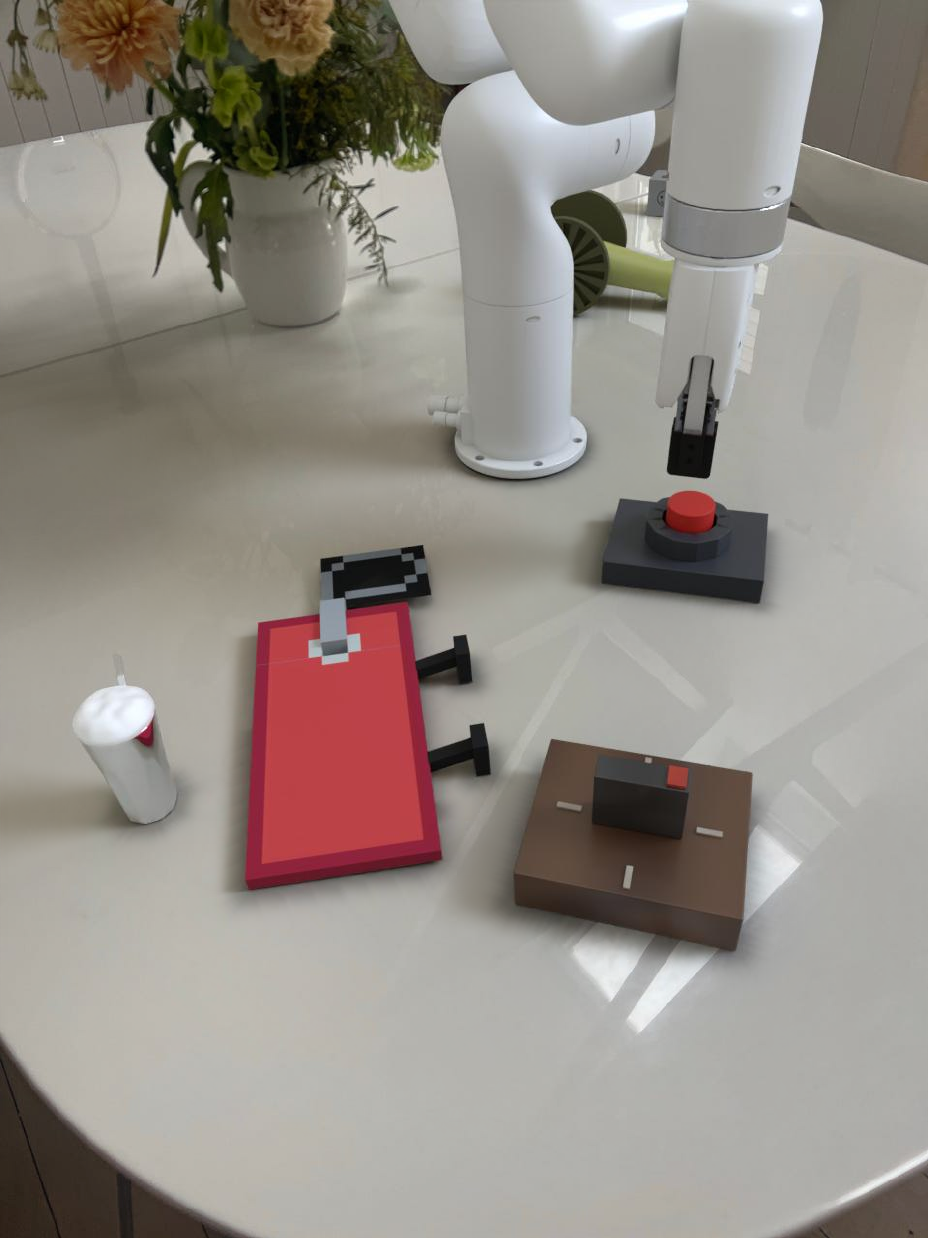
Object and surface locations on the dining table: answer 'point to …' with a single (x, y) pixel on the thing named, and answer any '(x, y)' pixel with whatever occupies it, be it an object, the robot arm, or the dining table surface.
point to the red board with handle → (348, 729)
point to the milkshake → (128, 748)
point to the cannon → (605, 250)
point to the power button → (690, 512)
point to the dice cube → (657, 193)
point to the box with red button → (641, 796)
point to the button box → (687, 552)
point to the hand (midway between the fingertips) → (688, 470)
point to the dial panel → (637, 853)
